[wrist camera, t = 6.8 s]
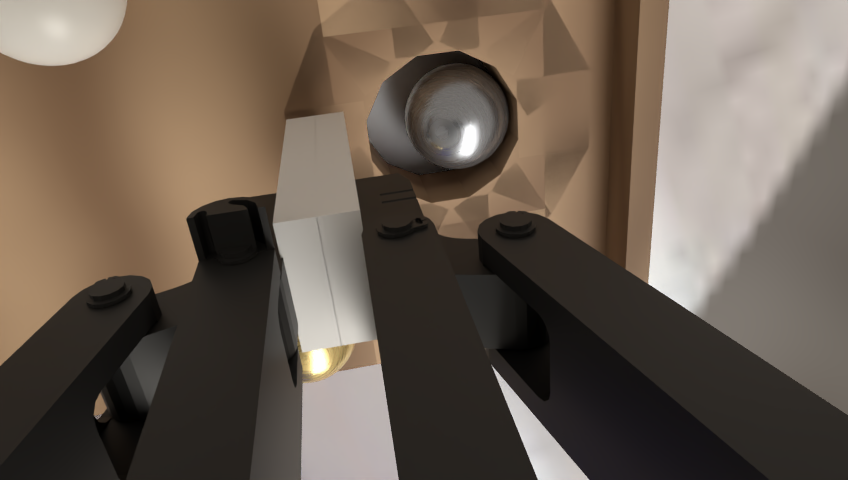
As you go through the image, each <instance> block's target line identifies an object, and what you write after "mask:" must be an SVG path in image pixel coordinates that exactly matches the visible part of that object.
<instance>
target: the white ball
mask: <svg viewBox="0 0 848 480" xmlns="http://www.w3.org/2000/svg"><path fill="white" fill-rule="evenodd" d="M126 7H127V0H0V53H2V54H4V55H6V56H9V57H11V58H14V59H16V60H19V61H22V62H26V63H30V64H35V65H45V66H60V65H68V64H73V63H77V62H79V61H82V60H85V59H88V58H90V57H92V56H94V55H96V54H97V53H98V52H100V51H101V50H102V49H104V48H105V47H106V46H107V45H108V44H109V43H110V42H111V41H112V40H113V38H114V37H115V36H116V34H117V33H118V31H119V29H120V27H121V25H122V22H123V19H124V16H125V13H126Z"/></svg>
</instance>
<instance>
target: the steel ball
mask: <svg viewBox="0 0 848 480" xmlns="http://www.w3.org/2000/svg"><path fill="white" fill-rule="evenodd" d="M405 126H406V131H407V134H408V136H409V139H410V141H411V143H412V144H413V146H414V147H415V149H416V150H417V151H418V152H419V153H420V154H421V155H422V156H423V157H424V158H425V159H427V160H428V161H430V162H431V163H433V164H435V165H438V166H441V167H444V168H449V169H462V168H468V167H472V166H475V165H477V164H479V163H481V162H483V161H484V160H486V159H487V158H488V157H490V156H491V155H492V154H493V153H494V152H495V151H496V149H497V148H498V147H499V145H500V144H501V142H502V140H503V138H504V136H505V133H506V130H507V126H508V105H507V101H506V98H505V95H504V93H503V91H502V89H501V87H500V86H499V85H498V83H497V82H496V81H495V80H494V79H493V78H492V77H491V76H490V75H489V74H488V73H486V72H485V71H483V70H481V69H479V68H477V67H475V66H472V65H468V64H462V63H454V64H446V65H442V66H439V67H437V68H435V69H433V70H431V71H429V72H428V73H426V74H425V75H424V76H423V77H422V78H421V79H420V80H419V81H418V82H417V83H416V84H415V86H414V87H413V89H412V90H411V92H410V94H409V97H408V100H407V103H406V107H405Z"/></svg>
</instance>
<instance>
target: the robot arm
mask: <svg viewBox="0 0 848 480" xmlns="http://www.w3.org/2000/svg"><path fill="white" fill-rule="evenodd" d="M186 221H187V224H188V227H189V231H190V234H191V237H192V241H193V244H194V247H195V251H196V254H197V257H198V261H199V262H198V265H197V268H196V271H195V274H194V277H193V280H192V281H191V282H189V283H186V284H184V285H181V286H178V287H176V288H173V289H169V290H166V291H163V292H160V293H157V294H155V292H154V289H153V286H152V283H151V281H150V279H148V278H146V277H143V276H136V275H127V276H120V277H119V276H113V277H109V278H108V279H107V280H106V278H105V279H102V280H99V281H97V282H95V284H93V285H91V286H89V287H87V288H85V289H83V290H82V291H80V292H79V293H78V294H76V295H75V296H73V297H72V298H71V299H70V300H69V301H68V302H67V303H66V304H65V305H64V306H63V307H62V308H61V309H59V310H58V311H57V312H56V313H55V314H54V315H53V316H52V317H51V318H50V319H49V320H48V321H47V322H46V323H45V324H44V325H43V326H42V327H41V328H40V329H38V330H37V331H36V332H35V333H34V334H33V335H32V336H31V337H30V338H29V339H28V340H27V341H26V342H25V343H24V344H23V345H22V346H21V347H20V348H19V349H17V350H16V351H15V352H14V353H13V354H12V355H11V356H10V357H9V358H8V359H7V360H6V361H5V362H4V363H3V364H2V365H1V366H0V480H301V438H302V378H303V367H302V363H301V359H300V355H299V350H298V336H299V340H300V345H301V349H302V353H303V352H308V351H314V350H320V349H325V348H331V347H337V346H343V345H348V344H354V343H360V342H366V341H371V340H378V346H379V353H380V359H381V366H382V372H383V379H384V385H385V392H386V398H387V405H388V411H389V418H390V424H391V431H392V438H393V444H394V451H395V457H396V464H397V470H398V477H399V480H538V479H537V477H536V474H535V472H534V469H533V467H532V464H531V462H530V460H529V457H528V455H527V452H526V450H525V447H524V445H523V442H522V440H521V437H520V435H519V432H518V430H517V427H516V425H515V422H514V420H513V417H512V415H511V413H510V410H509V408H508V405H507V403H506V400H505V398H504V395H503V393H502V390H501V388H500V385H499V383H498V380H497V378H496V375H495V373H494V370H493V368H492V366H493V367H494V368H495V370H496V371H497V372H498V373H499V374H500V375H501V377H502V378H503V379H504V380H505V381H506V382H507V384H508V385H509V386H510V387H511V388H512V389H513V391H514V392H515V393H516V394H517V395H518V396H519V398H520V399H521V400H522V401H523V402H524V403H525V405H526V406H527V407H528V408H529V409H530V411H531V412H532V413H533V414H534V415H535V416H536V418H537V419H538V420H539V421H540V422H541V423H542V425H543V426H544V427H545V428H546V429H547V430H548V432H549V433H550V434H551V435H552V436H553V437H554V439H555V440H556V441H557V442H558V443H559V445H560V446H561V447H562V448H563V449H564V450H565V452H566V453H567V454H568V455H569V456H570V457H571V459H572V460H573V461H574V462H575V463H576V464H577V466H578V467H579V468H580V469H581V470H582V471H583V473H584V474H585V475H586V476H587V477H588V479H589V480H848V415H847V414H845V413H843V412H842V411H840V410H839V409H838V408H836V407H834V406H833V405H831V404H830V403H828V402H827V401H825V400H824V399H822V398H821V397H819V396H818V395H816V394H815V393H813V392H812V391H810V390H809V389H807V388H806V387H804V386H802V385H801V384H799V383H798V382H796V381H795V380H793V379H792V378H790V377H789V376H787V375H786V374H784V373H783V372H781V371H780V370H778V369H777V368H775V367H773V366H772V365H770V364H769V363H768V362H766V361H764V360H763V359H761V358H760V357H758V356H757V355H755V354H754V353H752V352H751V351H749V350H748V349H746V348H745V347H743V346H742V345H740V344H738V343H737V342H736V341H734V340H732V339H731V338H729V337H728V336H726V335H725V334H723V333H722V332H720V331H719V330H717V329H716V328H714V327H713V326H711V325H710V324H708V323H707V322H705V321H704V320H702V319H701V318H699V317H698V316H696V315H694V314H693V313H691V312H690V311H688V310H687V309H685V308H684V307H682V306H681V305H679V304H678V303H676V302H675V301H673V300H672V299H670V298H669V297H667V296H666V295H664V294H663V293H661V292H659V291H658V290H656V289H655V288H653V287H652V286H650V285H649V284H647V283H646V282H644V281H643V280H641V279H640V278H638V277H637V276H635V275H634V274H632V273H631V272H629V271H628V270H626V269H624V268H623V267H621V266H620V265H618V264H617V263H615V262H614V261H612V260H611V259H609V258H608V257H606V256H605V255H603V254H602V253H600V252H599V251H597V250H596V249H594V248H593V247H591V246H589V245H588V244H586V243H585V242H583V241H582V240H580V239H579V238H577V237H576V236H574V235H573V234H571V233H570V232H568V231H567V230H565V229H564V228H562V227H561V226H559V225H558V224H556V223H554V222H553V221H551V220H550V219H548V218H546V217H544V216H541V215H539V214H534V213H528V212H526V211H517V212H516V211H508V212H506V213H503V214H497V215H495V216H492V217H490V218H487V219H486V220H484V221H483V222H482V223H481V224H480V225H479V227H478V231H477V233H478V239H463V238H451V237H446V236H442V235H440V234H438V232H437V230H436V227H435V225H434V223H433V222H432V221H431V220H430V219H429V218H427V217H424V215H423V213H422V210H421V208H420V205H419V202H418V200H417V198H416V195H415V192H414V190H413V187H412V184H411V182H410V180H409V179H407V178H406V177H404V176H402V175H400V174H398V173H395V174H388V175H382V176H375V177H368V178H362V179H355V178H354V172H353V166H352V160H351V154H350V148H349V142H348V136H347V130H346V124H345V119H344V113H343V112H337V113H330V114H323V115H315V116H308V117H301V118H294V119H287V120H286V127H285V134H284V142H283V149H282V156H281V164H280V171H279V179H278V186H277V193H273V194H266V195H260V196H253V197H235V198H227V199H223V200H218V201H214V202H212V203H209V204H206V205H203V206H201V207H199V208H198V209H196V210H194V211H193V212H191V213H190V215H189V216H188V217H187V218H186ZM491 365H492V366H491ZM100 393H101V396H102V398H103V400H104V403H105V405H106V407H107V409H106V410H105V412H104V413H103V414H102V416H101V417H100V418H99V419H98V420H97V419H96V418H95V417H94V409H95V402H96V400H97V398H98V396H99V394H100Z"/></svg>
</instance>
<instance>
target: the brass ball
mask: <svg viewBox="0 0 848 480" xmlns="http://www.w3.org/2000/svg"><path fill="white" fill-rule="evenodd" d="M354 346H355V343H354V344H348V345H343V346H337V347H331V348H325V349H320V350H314V351H308V352H303V353H302V349H301V345H300V340H299V336H298V350H299V355H300V359H301V363H302V367H303V378H302V383H311V382H317V381H320V380H323V379H326V378H328V377H330V376H331V375H333V374H335V373H336V372H337V371H338V370H340V369H341V368H342V367H343V365H344V364H345V363H346V362H347V360H348V359H349V357H350V355H351V354H352V351H353V349H354Z"/></svg>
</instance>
